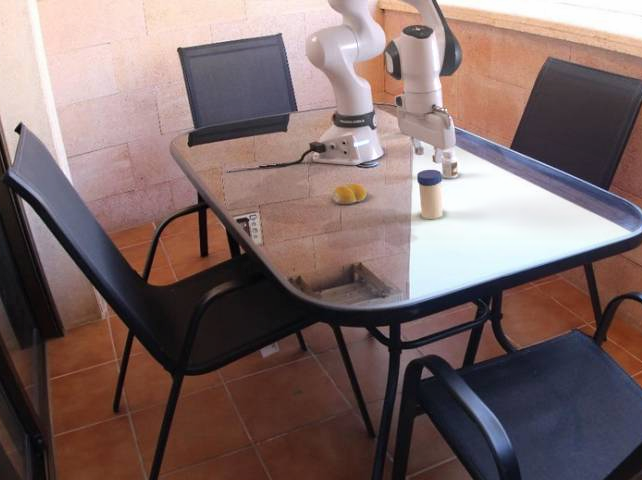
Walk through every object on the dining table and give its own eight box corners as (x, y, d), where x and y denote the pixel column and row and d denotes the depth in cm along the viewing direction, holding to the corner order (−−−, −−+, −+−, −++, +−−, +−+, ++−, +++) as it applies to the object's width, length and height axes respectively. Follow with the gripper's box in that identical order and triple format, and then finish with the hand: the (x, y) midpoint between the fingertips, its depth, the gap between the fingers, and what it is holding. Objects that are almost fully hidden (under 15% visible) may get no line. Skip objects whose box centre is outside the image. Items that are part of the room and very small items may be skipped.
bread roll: (371, 199, 181) (369, 185, 179) (341, 207, 177) (339, 193, 175) (358, 190, 187) (356, 176, 185) (329, 198, 183) (327, 184, 181)
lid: (415, 185, 164) (414, 178, 163) (420, 176, 169) (419, 169, 168) (439, 185, 163) (438, 178, 162) (443, 176, 168) (442, 169, 167)
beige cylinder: (419, 219, 169) (416, 179, 163) (424, 210, 173) (420, 171, 168) (440, 219, 168) (437, 180, 162) (444, 210, 172) (441, 172, 167)
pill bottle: (456, 179, 191) (454, 153, 186) (441, 178, 191) (439, 152, 187) (459, 173, 194) (457, 147, 190) (444, 173, 195) (442, 147, 191)
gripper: (460, 107, 149) (463, 165, 157) (412, 91, 163) (417, 145, 171) (437, 112, 146) (441, 172, 154) (390, 96, 160) (396, 151, 168)
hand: (428, 158), depth 162 cm, fingers open, 7 cm apart
